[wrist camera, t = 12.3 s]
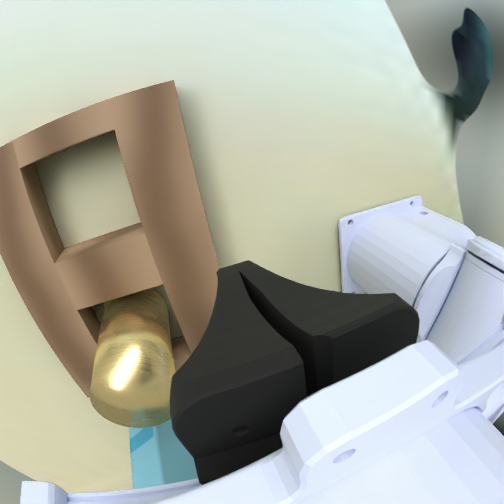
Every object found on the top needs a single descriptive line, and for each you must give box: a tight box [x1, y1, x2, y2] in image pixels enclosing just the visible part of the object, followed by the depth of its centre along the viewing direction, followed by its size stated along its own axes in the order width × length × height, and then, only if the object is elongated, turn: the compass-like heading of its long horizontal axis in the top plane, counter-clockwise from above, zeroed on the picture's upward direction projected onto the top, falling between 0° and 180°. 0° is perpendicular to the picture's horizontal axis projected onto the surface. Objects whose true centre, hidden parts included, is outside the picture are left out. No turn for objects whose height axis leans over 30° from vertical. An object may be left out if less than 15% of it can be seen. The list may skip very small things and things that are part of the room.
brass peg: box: [90, 288, 175, 428], centre depth 18 cm, size 5×5×9 cm
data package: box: [129, 419, 198, 489], centre depth 23 cm, size 12×4×12 cm, turn 44°
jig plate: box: [0, 80, 220, 397], centre depth 19 cm, size 14×20×2 cm
